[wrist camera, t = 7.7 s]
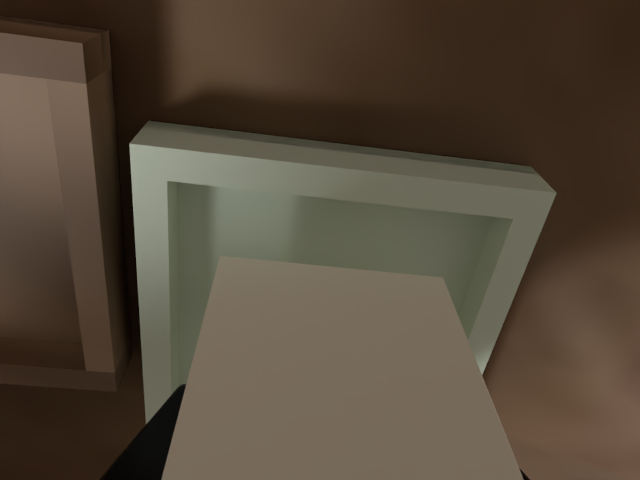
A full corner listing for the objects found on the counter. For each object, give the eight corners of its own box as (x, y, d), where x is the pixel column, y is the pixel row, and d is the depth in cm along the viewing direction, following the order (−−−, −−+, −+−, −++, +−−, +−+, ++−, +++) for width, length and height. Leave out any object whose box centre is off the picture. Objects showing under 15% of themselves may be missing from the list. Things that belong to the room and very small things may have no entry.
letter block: (398, 425, 11) (457, 731, 7) (213, 412, 11) (154, 726, 7) (445, 277, 9) (568, 578, 5) (220, 255, 9) (140, 560, 5)
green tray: (437, 419, 14) (448, 458, 13) (158, 399, 13) (146, 438, 12) (530, 166, 10) (556, 193, 9) (148, 120, 9) (129, 143, 8)
